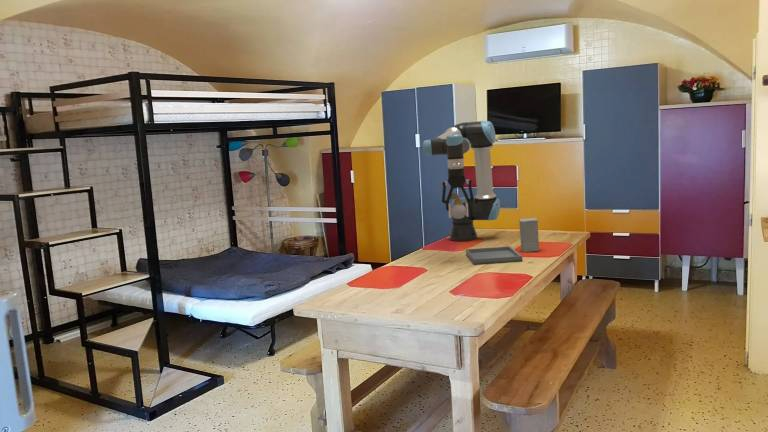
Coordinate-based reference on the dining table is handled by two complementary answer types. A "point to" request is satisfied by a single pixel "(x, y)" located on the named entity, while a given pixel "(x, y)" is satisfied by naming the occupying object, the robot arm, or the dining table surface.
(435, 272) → the dining table surface
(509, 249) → the tray
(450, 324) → the dining table surface
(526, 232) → the skincare box
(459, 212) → the perfume bottle
